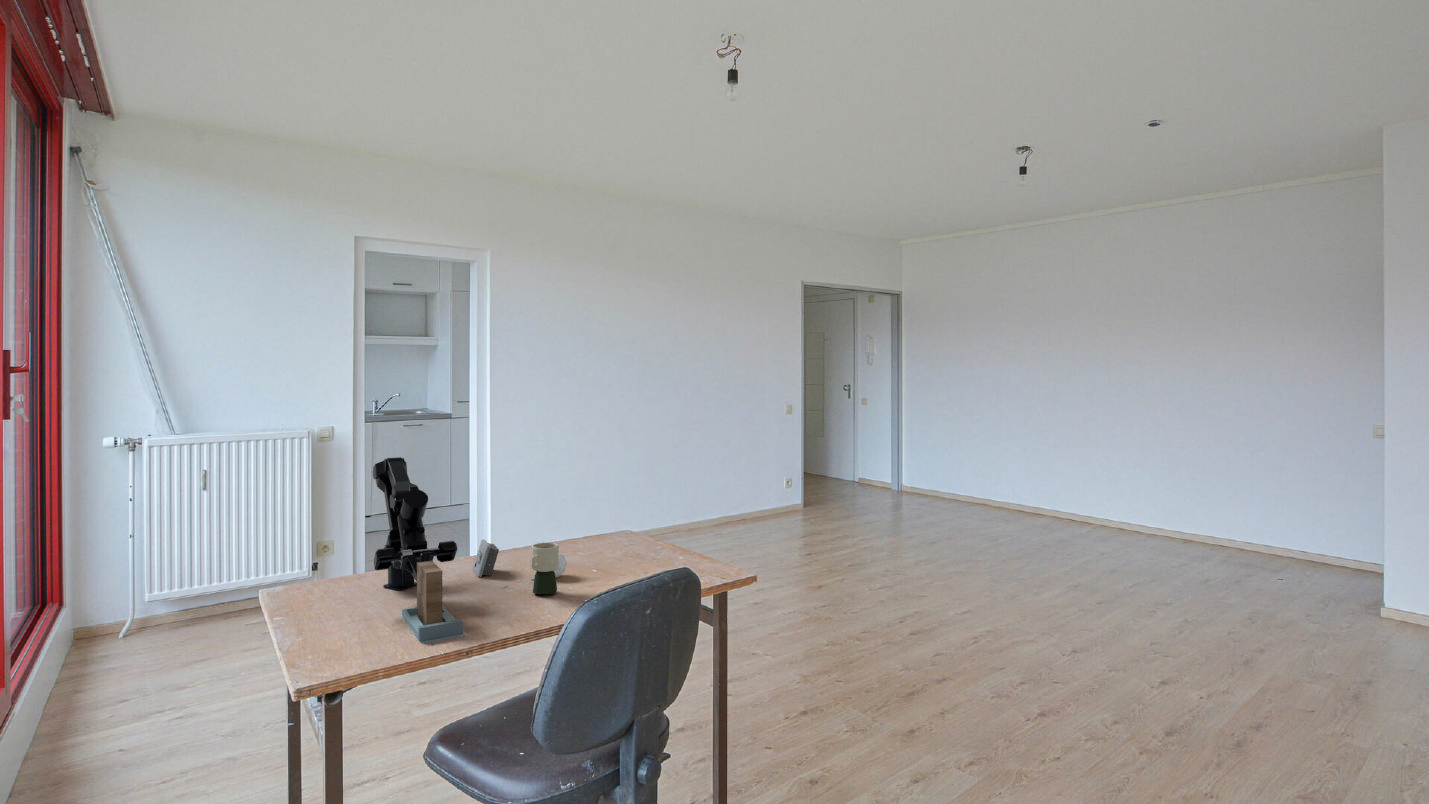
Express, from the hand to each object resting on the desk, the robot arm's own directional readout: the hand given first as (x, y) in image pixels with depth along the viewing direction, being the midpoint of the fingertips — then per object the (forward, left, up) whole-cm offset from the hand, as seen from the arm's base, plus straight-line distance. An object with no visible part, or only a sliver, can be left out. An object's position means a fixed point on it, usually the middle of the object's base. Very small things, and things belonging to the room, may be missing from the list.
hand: (421, 585), depth 176 cm
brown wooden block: (+7, -4, -6) cm, 11 cm away
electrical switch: (-13, +34, -7) cm, 37 cm away
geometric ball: (+7, +40, -7) cm, 41 cm away
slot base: (+9, -5, -7) cm, 13 cm away
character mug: (+15, +27, -7) cm, 32 cm away
